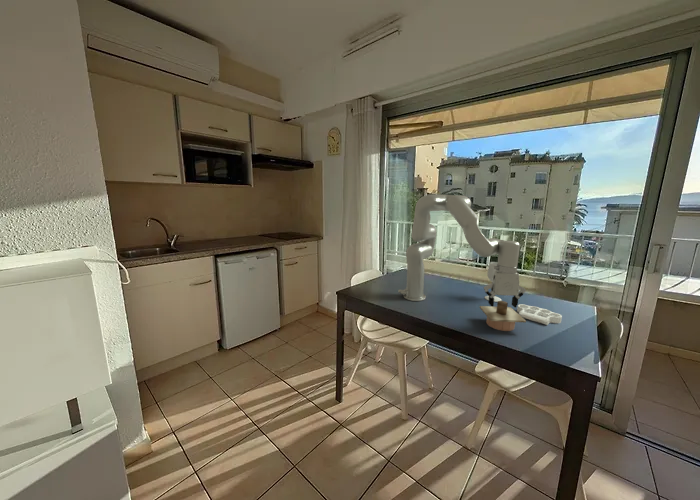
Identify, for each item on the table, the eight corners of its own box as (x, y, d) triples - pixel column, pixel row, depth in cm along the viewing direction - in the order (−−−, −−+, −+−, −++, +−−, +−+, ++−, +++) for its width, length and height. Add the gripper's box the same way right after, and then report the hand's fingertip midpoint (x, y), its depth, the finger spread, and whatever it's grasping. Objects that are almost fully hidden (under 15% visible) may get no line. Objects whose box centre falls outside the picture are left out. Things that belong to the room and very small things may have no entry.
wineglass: (495, 303, 145) (499, 266, 141) (481, 297, 153) (484, 262, 149) (505, 300, 149) (509, 264, 145) (490, 295, 157) (494, 260, 153)
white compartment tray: (510, 315, 131) (521, 307, 140) (555, 329, 117) (563, 319, 127) (511, 309, 130) (522, 301, 140) (556, 322, 117) (564, 313, 126)
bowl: (492, 330, 116) (493, 319, 115) (483, 318, 127) (484, 309, 126) (519, 331, 115) (520, 320, 114) (507, 319, 126) (508, 310, 125)
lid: (491, 320, 114) (492, 308, 113) (479, 307, 128) (480, 296, 127) (525, 322, 113) (527, 309, 111) (510, 308, 126) (511, 297, 125)
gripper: (489, 270, 113) (485, 308, 117) (532, 272, 111) (527, 310, 115) (482, 266, 120) (479, 301, 124) (523, 267, 118) (518, 303, 122)
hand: (502, 305), depth 119 cm, fingers open, 9 cm apart
